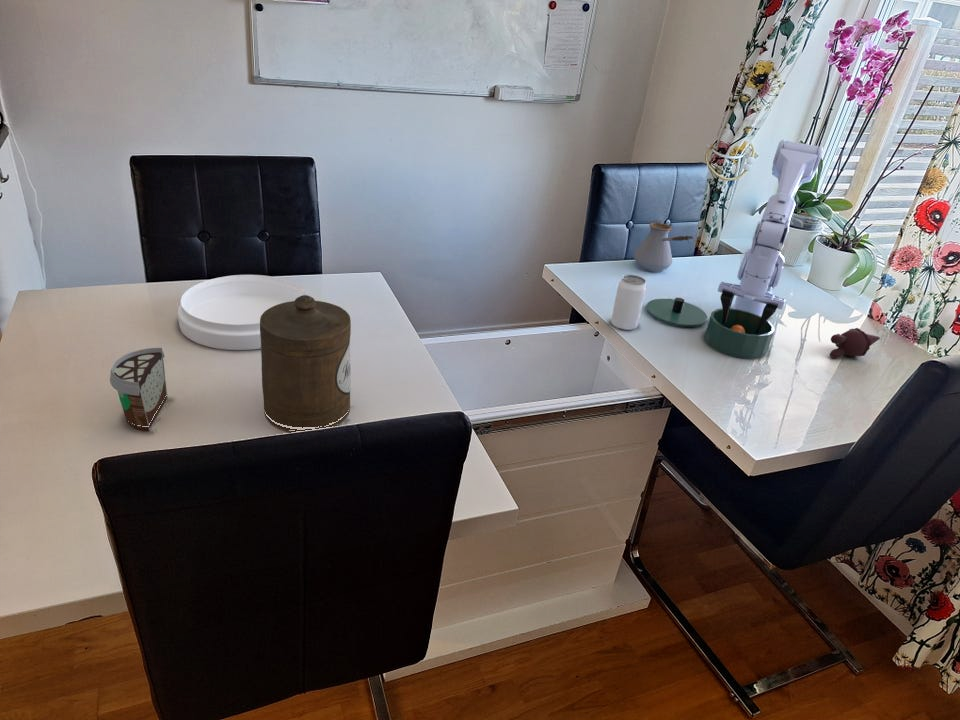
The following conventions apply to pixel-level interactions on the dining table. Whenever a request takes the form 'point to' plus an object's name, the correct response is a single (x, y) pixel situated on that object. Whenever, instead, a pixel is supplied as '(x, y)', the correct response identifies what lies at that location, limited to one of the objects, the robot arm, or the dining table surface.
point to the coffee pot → (656, 248)
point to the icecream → (852, 343)
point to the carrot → (738, 328)
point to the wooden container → (305, 363)
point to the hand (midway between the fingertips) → (740, 327)
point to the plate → (232, 309)
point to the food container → (140, 386)
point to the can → (628, 302)
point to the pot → (739, 334)
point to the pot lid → (676, 312)
